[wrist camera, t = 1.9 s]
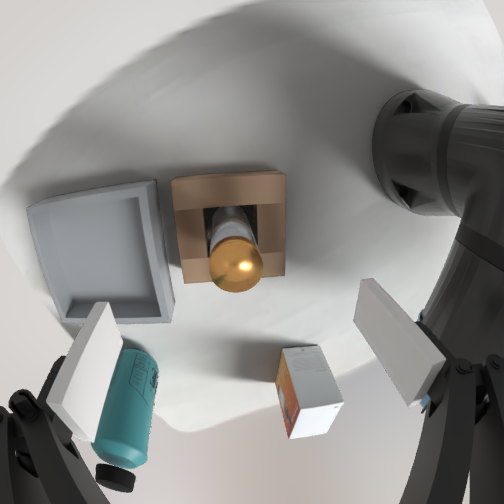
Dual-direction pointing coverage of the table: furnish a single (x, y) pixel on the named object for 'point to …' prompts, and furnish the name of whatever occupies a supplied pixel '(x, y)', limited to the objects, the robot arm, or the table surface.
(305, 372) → the small box
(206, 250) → the block
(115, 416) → the beverage bottle
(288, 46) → the table surface
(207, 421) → the table surface
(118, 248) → the tray
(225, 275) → the pin
